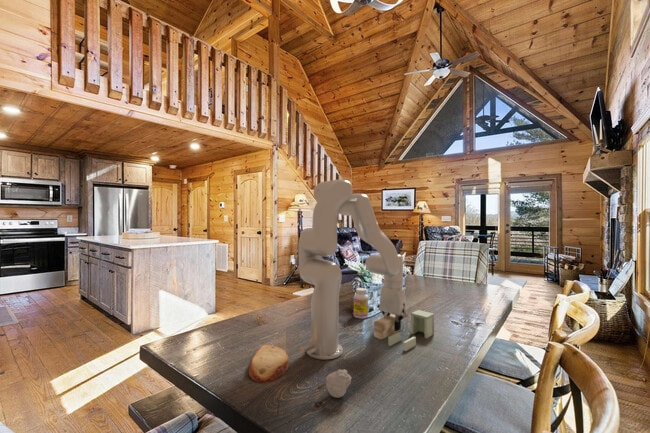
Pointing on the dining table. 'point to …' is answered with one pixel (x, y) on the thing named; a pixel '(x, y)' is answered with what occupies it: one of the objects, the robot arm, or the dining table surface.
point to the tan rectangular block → (385, 327)
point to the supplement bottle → (361, 303)
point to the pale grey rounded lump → (338, 383)
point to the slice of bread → (268, 364)
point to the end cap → (422, 323)
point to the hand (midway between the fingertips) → (392, 328)
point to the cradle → (406, 344)
